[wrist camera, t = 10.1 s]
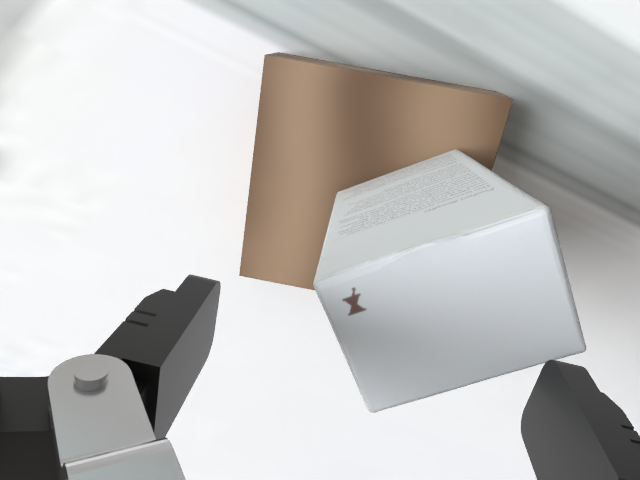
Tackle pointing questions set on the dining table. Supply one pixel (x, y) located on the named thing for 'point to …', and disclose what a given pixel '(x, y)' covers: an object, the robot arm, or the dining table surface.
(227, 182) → the dining table surface
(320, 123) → the walnut block
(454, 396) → the dining table surface
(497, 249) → the skincare box
